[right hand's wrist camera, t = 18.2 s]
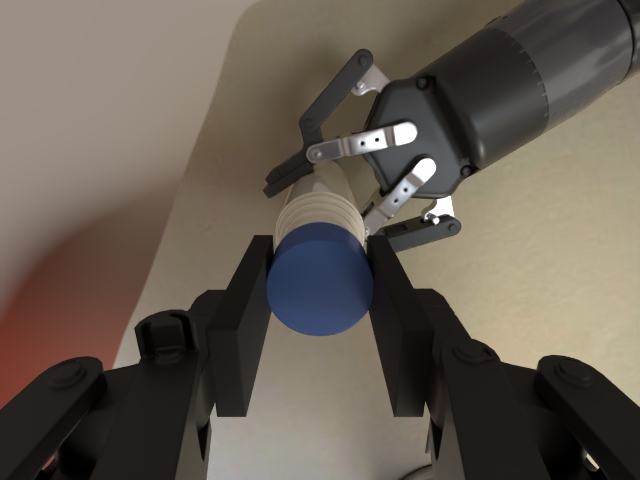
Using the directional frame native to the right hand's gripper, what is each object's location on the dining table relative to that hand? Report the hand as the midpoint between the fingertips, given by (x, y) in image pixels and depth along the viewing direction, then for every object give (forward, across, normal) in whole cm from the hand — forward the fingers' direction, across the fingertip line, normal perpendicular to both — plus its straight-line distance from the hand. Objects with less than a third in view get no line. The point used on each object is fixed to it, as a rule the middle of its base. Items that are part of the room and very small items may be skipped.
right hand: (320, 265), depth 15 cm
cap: (-2, 0, 0) cm, 2 cm away
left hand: (+11, -2, -2) cm, 11 cm away
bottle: (+17, 0, 0) cm, 17 cm away
